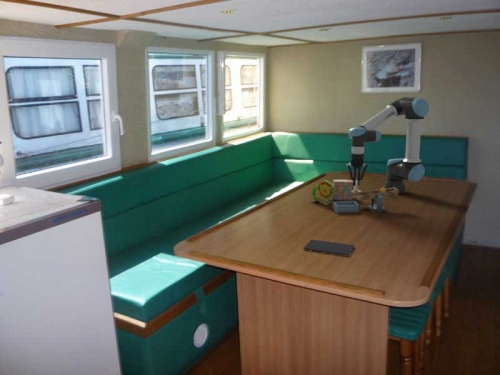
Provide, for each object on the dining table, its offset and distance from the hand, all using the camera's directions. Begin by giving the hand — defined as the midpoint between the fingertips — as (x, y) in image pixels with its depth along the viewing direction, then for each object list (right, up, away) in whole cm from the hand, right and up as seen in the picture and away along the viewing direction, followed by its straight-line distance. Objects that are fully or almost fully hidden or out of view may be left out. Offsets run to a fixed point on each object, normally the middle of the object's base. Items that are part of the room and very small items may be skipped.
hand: (355, 190), depth 283 cm
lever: (+11, -4, -5) cm, 12 cm away
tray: (-8, -12, -9) cm, 17 cm away
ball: (+14, 0, -10) cm, 18 cm away
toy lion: (-19, -8, +8) cm, 22 cm away
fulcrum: (+11, -11, -8) cm, 17 cm away
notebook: (-29, -27, -69) cm, 80 cm away
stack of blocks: (-9, -6, +19) cm, 22 cm away
